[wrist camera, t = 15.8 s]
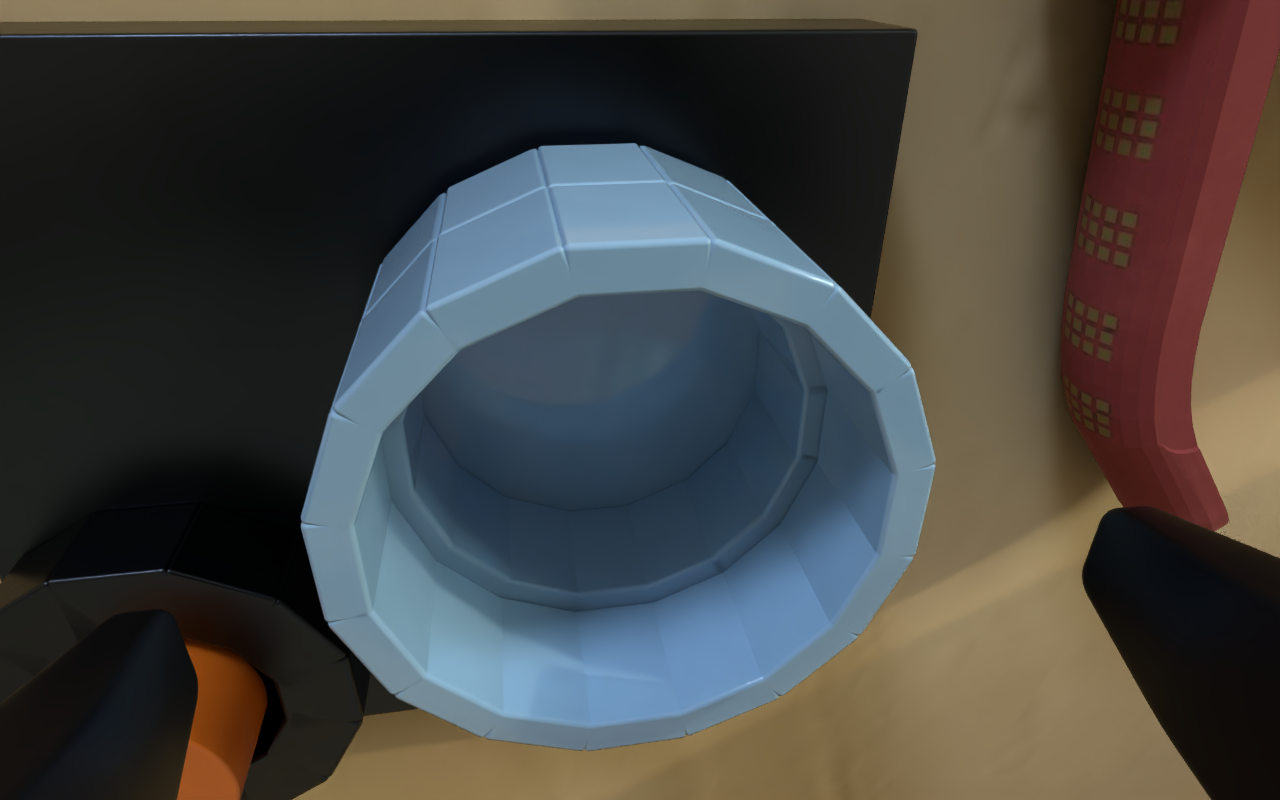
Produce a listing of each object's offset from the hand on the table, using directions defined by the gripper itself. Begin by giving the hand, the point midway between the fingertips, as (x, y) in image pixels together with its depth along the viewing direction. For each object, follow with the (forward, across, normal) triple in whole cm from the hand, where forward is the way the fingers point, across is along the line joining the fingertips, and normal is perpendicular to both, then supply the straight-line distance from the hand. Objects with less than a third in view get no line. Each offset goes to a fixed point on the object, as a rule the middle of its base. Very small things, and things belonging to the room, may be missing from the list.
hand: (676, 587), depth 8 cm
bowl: (+5, 0, 0) cm, 5 cm away
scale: (+7, +3, +2) cm, 8 cm away
